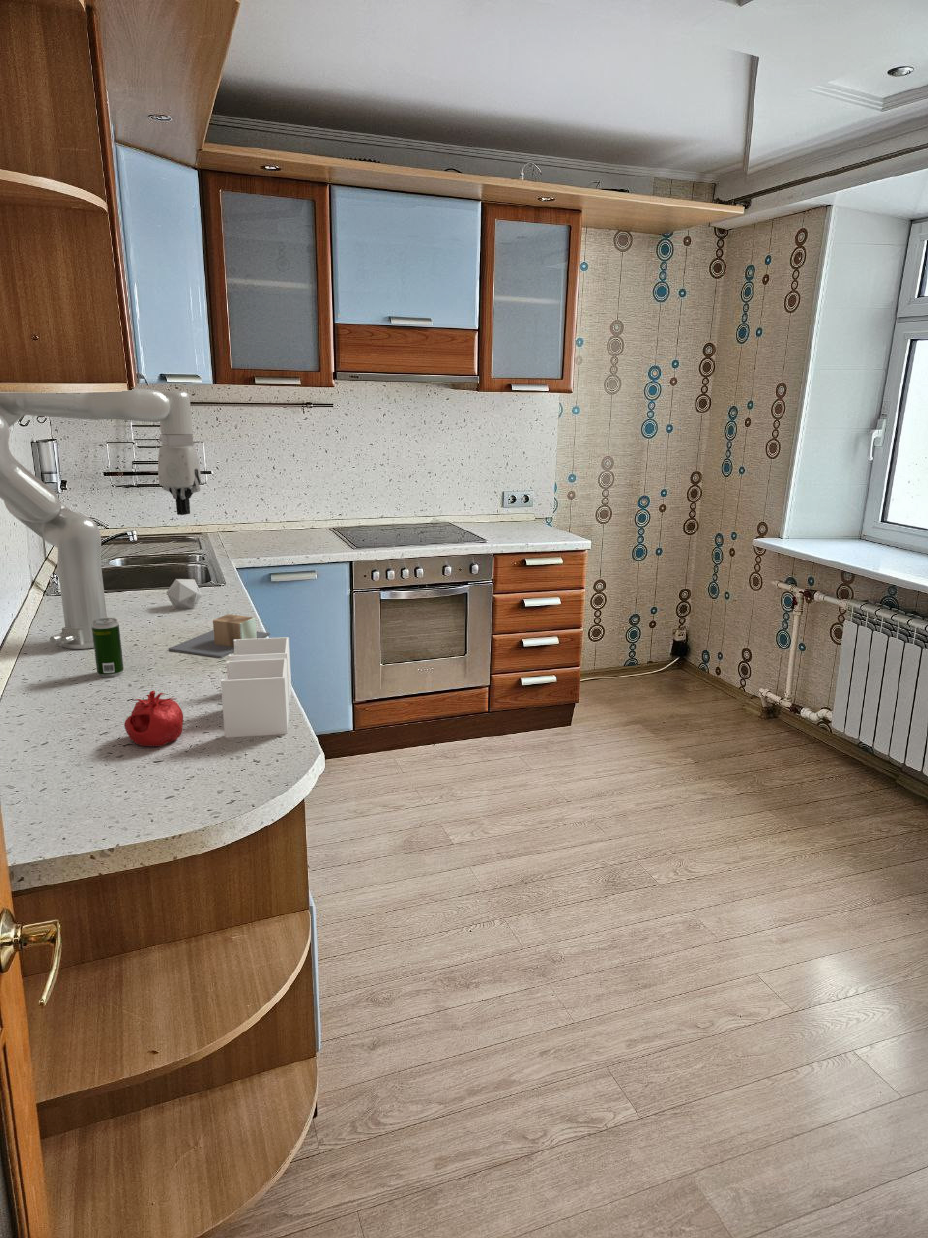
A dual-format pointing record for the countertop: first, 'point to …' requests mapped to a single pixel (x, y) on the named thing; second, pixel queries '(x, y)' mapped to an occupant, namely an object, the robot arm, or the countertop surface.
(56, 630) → the countertop surface
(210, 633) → the mat
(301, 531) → the countertop surface
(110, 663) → the beer can
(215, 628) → the block
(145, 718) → the pomegranate
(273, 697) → the storage container
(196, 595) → the die
